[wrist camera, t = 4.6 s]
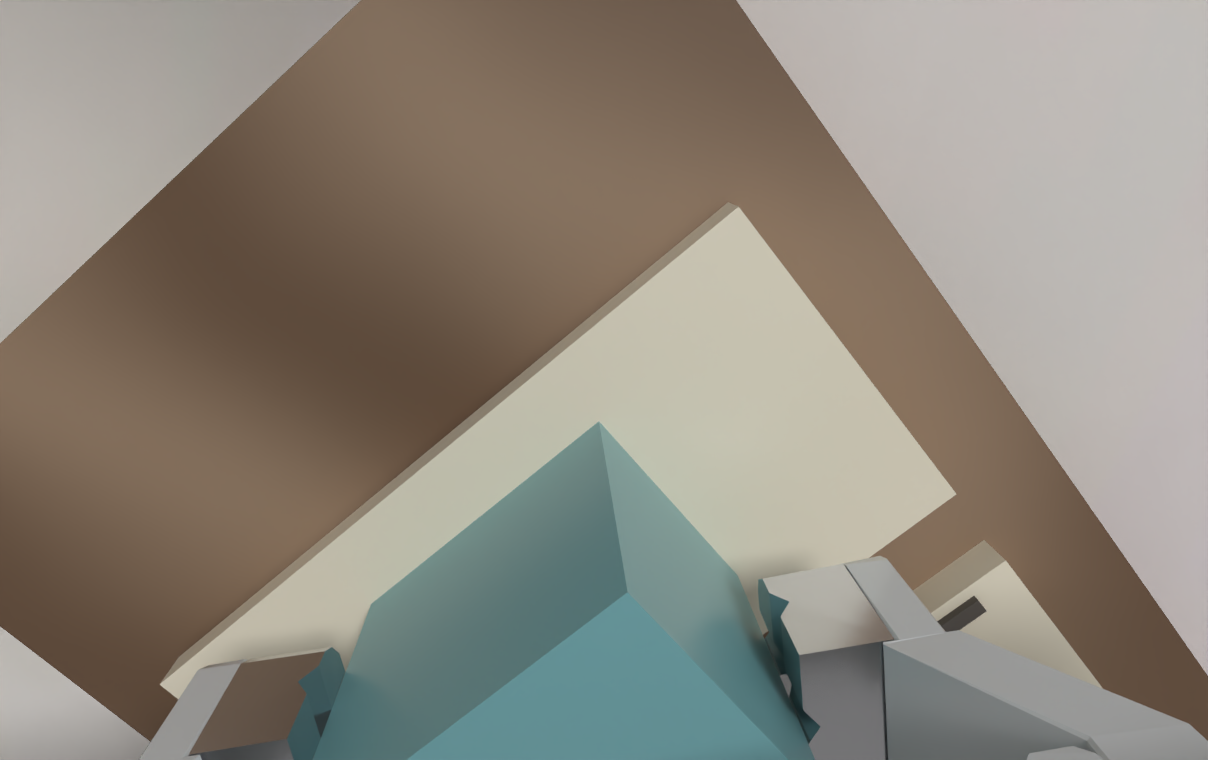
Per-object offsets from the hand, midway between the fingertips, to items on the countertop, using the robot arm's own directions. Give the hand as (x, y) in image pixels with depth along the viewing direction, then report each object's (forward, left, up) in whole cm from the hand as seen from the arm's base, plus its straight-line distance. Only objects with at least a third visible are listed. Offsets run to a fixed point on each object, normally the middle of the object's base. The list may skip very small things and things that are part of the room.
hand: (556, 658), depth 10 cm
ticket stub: (0, 0, -2) cm, 2 cm away
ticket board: (0, -3, -4) cm, 5 cm away
